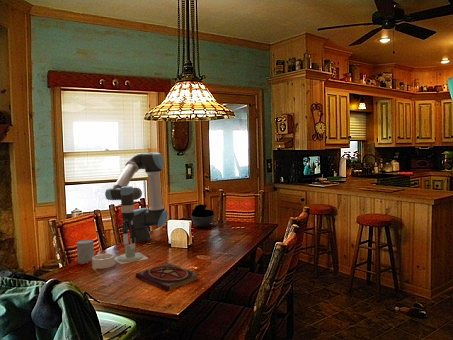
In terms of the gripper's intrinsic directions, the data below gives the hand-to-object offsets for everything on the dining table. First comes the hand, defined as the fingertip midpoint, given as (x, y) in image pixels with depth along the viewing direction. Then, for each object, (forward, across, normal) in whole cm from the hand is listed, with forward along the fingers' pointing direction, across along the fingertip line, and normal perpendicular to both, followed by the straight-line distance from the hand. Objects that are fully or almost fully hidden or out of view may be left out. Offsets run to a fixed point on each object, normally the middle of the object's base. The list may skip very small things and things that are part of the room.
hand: (129, 246), depth 226 cm
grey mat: (+8, 0, 0) cm, 8 cm away
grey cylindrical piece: (+9, -14, -23) cm, 28 cm away
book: (+10, +45, +5) cm, 46 cm away
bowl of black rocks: (+7, -52, +80) cm, 96 cm away
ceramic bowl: (+8, +4, -17) cm, 19 cm away
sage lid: (+7, 0, 0) cm, 7 cm away
